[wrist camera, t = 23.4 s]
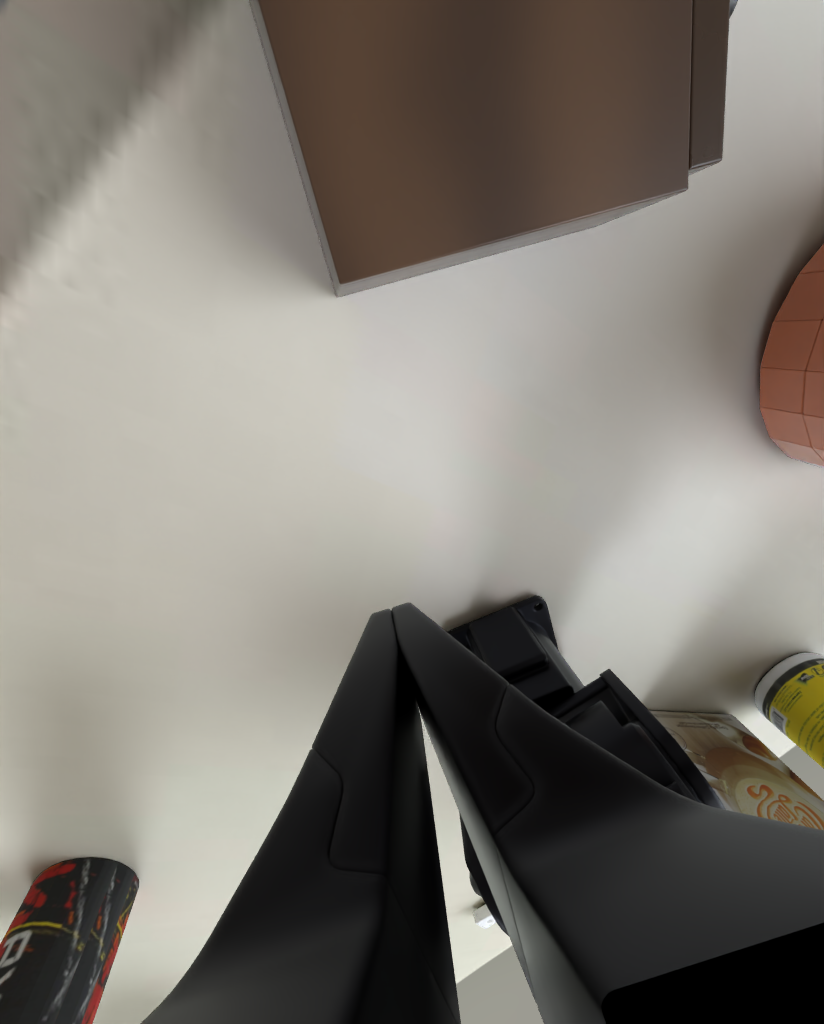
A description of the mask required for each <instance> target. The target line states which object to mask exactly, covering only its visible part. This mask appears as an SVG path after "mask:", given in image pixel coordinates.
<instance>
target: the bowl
mask: <svg viewBox="0 0 824 1024" xmlns="http://www.w3.org/2000/svg"><path fill="white" fill-rule="evenodd" d="M760 367H761V368H760V404H759V405H760V410H761V414H762V417H763V420H764V423H765V426H766V429H767V432H768V435H769V437H770V438H771V439H772V441H773V442H774V443H775V444H776V445H777V446H778V447H779V448H780V449H781V450H782V451H783V452H784V453H785V454H786V455H787V456H788V457H790V458H792V459H795V460H798V461H801V462H804V463H807V464H810V465H814V466H817V467H821V468H824V244H823V245H822V246H821V247H820V248H819V250H818V251H817V252H816V253H815V254H814V256H813V257H812V258H811V259H810V260H809V262H808V263H807V264H806V265H805V267H804V268H803V269H802V270H801V271H800V273H799V275H798V276H797V277H796V279H795V281H794V283H793V285H792V287H791V289H790V291H789V293H788V294H787V296H786V298H785V300H784V302H783V304H782V306H781V308H780V309H779V311H778V313H777V315H776V317H775V319H774V322H773V323H772V327H771V330H770V334H769V337H768V341H767V344H766V348H765V351H764V355H763V358H762V362H761V365H760Z"/></svg>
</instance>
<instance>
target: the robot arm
mask: <svg viewBox="0 0 824 1024" xmlns="http://www.w3.org/2000/svg"><path fill="white" fill-rule="evenodd" d="M538 603H539V604H538ZM536 604H538V605H537V606H535V605H536ZM600 676H601V677H599V678H598V679H596V680H594V681H593V682H591V683H590V684H588V685H586V686H585V687H584V685H583V684H582V683H581V681H580V680H579V678H578V677H577V676H576V674H575V673H574V672H573V670H572V669H571V668H570V666H569V665H568V663H567V662H566V661H565V659H564V658H563V657H562V655H561V654H560V652H559V651H558V647H557V643H556V639H555V635H554V631H553V627H552V623H551V620H550V616H549V612H548V608H547V604H546V602H545V601H544V599H543V598H542V597H540V596H533V597H531V598H528V599H526V600H524V601H521V602H519V603H516V604H514V605H511V606H509V607H507V608H504V609H502V610H499V611H497V612H494V613H492V614H490V615H487V616H485V617H482V618H480V619H477V620H475V621H473V622H470V623H468V624H465V625H463V626H460V627H458V628H456V629H453V630H451V631H448V632H446V631H445V630H444V629H442V628H441V627H440V626H439V625H437V624H436V623H435V622H434V621H432V620H431V619H430V618H429V617H427V616H426V615H425V614H424V613H423V612H421V611H420V610H419V609H418V608H416V607H415V606H414V605H413V604H411V603H405V604H402V605H399V606H396V607H393V608H392V611H391V610H390V609H386V610H383V611H379V612H376V613H373V614H372V615H371V616H370V618H369V621H368V623H367V625H366V627H365V630H364V632H363V634H362V636H361V638H360V641H359V643H358V645H357V647H356V650H355V652H354V654H353V656H352V658H351V661H350V663H349V665H348V667H347V670H346V672H345V674H344V676H343V678H342V681H341V683H340V685H339V687H338V690H337V692H336V694H335V696H334V698H333V701H332V703H331V705H330V707H329V710H328V712H327V714H326V716H325V718H324V721H323V723H322V725H321V727H320V730H319V732H318V734H317V736H316V739H315V741H314V743H313V745H312V749H311V750H310V751H309V754H308V756H307V758H306V760H305V762H304V765H303V767H302V769H301V771H300V773H299V775H298V777H297V780H296V782H295V784H294V786H293V788H292V790H291V792H290V794H289V796H288V798H287V800H286V802H285V804H284V806H283V808H282V810H281V811H280V813H279V815H278V817H277V819H276V821H275V822H274V824H273V826H272V828H271V830H270V832H269V833H268V835H267V837H266V839H265V841H264V842H263V844H262V846H261V848H260V849H259V851H258V853H257V855H256V856H255V858H254V860H253V862H252V863H251V865H250V867H249V869H248V870H247V872H246V874H245V876H244V877H243V879H242V881H241V883H240V885H239V886H238V888H237V890H236V892H235V893H234V895H233V897H232V899H231V900H230V902H229V904H228V906H227V907H226V909H225V911H224V913H223V914H222V916H221V918H220V920H219V921H218V923H217V925H216V927H215V928H214V930H213V932H212V934H211V935H210V937H209V939H208V940H207V942H206V944H205V945H204V947H203V948H202V950H201V952H200V953H199V955H198V956H197V958H196V959H195V961H194V962H193V964H192V965H191V967H190V968H189V970H188V971H187V972H186V974H185V975H184V976H183V978H182V979H181V980H180V981H179V983H178V984H177V985H176V987H175V988H174V989H173V991H172V992H171V993H170V994H169V995H168V996H167V997H166V998H165V1000H164V1001H163V1002H162V1003H161V1004H160V1005H159V1006H158V1007H157V1008H156V1009H155V1010H154V1011H153V1012H152V1013H151V1014H150V1015H149V1016H148V1017H147V1018H146V1019H145V1020H144V1021H143V1022H142V1023H141V1024H461V1021H460V1013H459V1005H458V998H457V990H456V982H455V975H454V967H453V959H452V952H451V944H450V937H449V929H448V921H447V914H446V906H445V898H444V891H443V883H442V876H441V868H440V860H439V853H438V845H437V838H436V830H435V822H434V815H433V807H432V799H431V792H430V784H429V777H428V769H427V761H426V754H425V746H424V739H423V731H422V724H421V718H420V713H421V716H422V719H423V721H424V724H425V727H426V729H427V732H428V734H429V737H430V739H431V742H432V744H433V747H434V749H435V752H436V754H437V757H438V759H439V762H440V764H441V767H442V769H443V772H444V774H445V777H446V779H447V782H448V784H449V787H450V789H451V792H452V794H453V797H454V799H455V802H456V804H457V807H458V809H459V812H460V821H461V829H462V837H463V845H464V854H465V861H466V864H467V867H468V869H469V871H470V882H471V885H472V887H473V889H474V891H475V893H476V894H478V895H479V896H481V897H482V898H483V900H484V902H485V904H486V906H487V908H488V909H489V911H490V913H491V914H492V916H493V918H494V919H495V921H496V922H497V924H498V925H499V926H500V928H501V929H502V930H503V931H504V932H505V933H506V934H507V935H508V936H509V937H510V939H511V942H512V944H513V947H514V949H515V952H516V954H517V957H518V959H519V961H520V964H521V967H522V969H523V972H524V974H525V977H526V979H527V982H528V984H529V987H530V989H531V992H532V994H533V997H534V999H535V1001H536V1003H537V1005H538V1008H539V1012H540V1014H541V1017H542V1019H543V1022H544V1024H824V830H820V829H815V828H810V827H806V826H801V825H796V824H791V823H786V822H782V821H777V820H772V819H767V818H762V817H758V816H753V815H748V814H743V813H738V812H734V811H729V810H726V808H725V807H724V805H723V803H722V802H721V800H720V799H719V797H718V796H717V794H716V793H715V791H714V790H713V788H712V787H711V785H710V784H709V783H708V781H707V780H706V779H705V777H704V776H703V775H702V773H701V772H700V771H699V769H698V768H697V767H696V765H695V764H694V763H693V761H692V760H691V759H690V758H689V756H688V755H687V754H686V753H685V751H684V750H683V749H682V748H681V746H680V745H679V744H678V743H677V741H676V740H675V739H674V738H673V737H672V736H671V734H670V733H669V732H668V731H667V730H666V728H665V727H664V726H663V725H662V724H661V723H660V722H659V721H658V720H657V719H656V718H655V716H654V715H653V714H652V713H651V712H650V711H649V710H648V709H647V708H646V707H645V706H644V705H643V704H642V703H641V702H640V701H639V700H638V698H637V697H636V696H635V695H634V694H633V693H632V692H631V691H630V690H629V689H628V688H627V687H626V686H625V685H624V684H623V683H622V682H621V680H620V679H619V678H618V677H617V676H616V675H615V674H614V673H613V672H612V671H611V670H610V669H608V670H606V671H605V672H603V673H601V674H600ZM418 707H419V708H418ZM419 710H420V713H419Z"/></svg>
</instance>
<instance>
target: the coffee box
mask: <svg viewBox="0 0 824 1024" xmlns="http://www.w3.org/2000/svg"><path fill="white" fill-rule="evenodd" d="M650 712H651V713H652V714H653V715H654V716H655V718H656V719H657V720H658V721H659V722H660V723H661V724H662V725H663V726H664V727H665V728H666V730H667V731H668V732H669V733H670V734H671V736H672V737H673V738H674V739H675V740H676V741H677V743H678V744H679V745H680V746H681V748H682V749H683V750H684V751H685V753H686V754H687V755H688V756H689V758H690V759H691V760H692V761H693V763H694V764H695V765H696V767H697V768H698V769H699V771H700V772H701V773H702V775H703V776H704V777H705V779H706V780H707V781H708V783H709V784H710V785H711V787H712V788H713V790H714V791H715V793H716V794H717V796H718V797H719V799H720V800H721V802H722V803H723V805H724V807H725V808H726V810H729V811H734V812H738V813H743V814H748V815H753V816H758V817H762V818H767V819H772V820H777V821H782V822H786V823H791V824H796V825H801V826H806V827H810V828H815V829H820V830H824V801H823V800H822V799H821V798H820V797H819V796H818V795H817V794H816V793H815V792H814V791H813V790H812V789H811V788H810V787H808V786H807V785H806V784H805V783H804V782H803V781H802V780H801V779H800V778H799V777H798V776H797V775H796V774H795V773H793V772H792V771H791V770H790V769H789V768H788V767H787V766H786V765H785V764H784V763H783V762H782V761H781V760H780V759H779V758H778V757H777V756H776V755H775V754H774V753H772V752H771V751H770V750H769V749H768V748H767V747H766V746H765V745H764V744H763V743H762V742H761V741H760V740H759V739H758V738H757V737H756V736H755V735H754V734H752V733H751V732H750V731H749V730H748V729H747V728H746V727H745V726H744V725H743V724H742V723H741V722H740V721H739V720H738V719H737V718H736V717H734V716H733V715H727V714H708V713H686V712H667V711H650Z"/></svg>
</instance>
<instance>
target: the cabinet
mask: <svg viewBox="0 0 824 1024" xmlns="http://www.w3.org/2000/svg"><path fill="white" fill-rule="evenodd" d="M249 3H250V6H251V9H252V13H253V16H254V20H255V23H256V26H257V30H258V33H259V37H260V40H261V43H262V47H263V50H264V54H265V57H266V60H267V64H268V67H269V71H270V74H271V77H272V81H273V84H274V88H275V91H276V94H277V98H278V101H279V105H280V108H281V111H282V115H283V118H284V122H285V125H286V128H287V132H288V135H289V139H290V142H291V145H292V149H293V152H294V156H295V159H296V162H297V166H298V169H299V173H300V176H301V179H302V183H303V186H304V190H305V193H306V196H307V200H308V203H309V207H310V210H311V213H312V217H313V220H314V223H315V227H316V230H317V234H318V237H319V240H320V244H321V247H322V251H323V254H324V257H325V261H326V264H327V268H328V271H329V274H330V278H331V281H332V285H333V288H334V291H335V295H336V297H341V296H345V295H349V294H352V293H356V292H360V291H363V290H367V289H371V288H374V287H378V286H381V285H385V284H389V283H392V282H396V281H400V280H403V279H407V278H411V277H414V276H418V275H421V274H425V273H429V272H432V271H436V270H440V269H443V268H447V267H451V266H454V265H458V264H461V263H465V262H469V261H472V260H476V259H480V258H483V257H487V256H491V255H494V254H498V253H501V252H505V251H509V250H512V249H516V248H520V247H523V246H527V245H531V244H534V243H538V242H541V241H545V240H549V239H552V238H556V237H560V236H563V235H567V234H571V233H574V232H578V231H581V230H585V229H589V228H592V227H596V226H598V225H601V224H603V223H606V222H608V221H611V220H613V219H616V218H619V217H621V216H624V215H626V214H629V213H631V212H634V211H636V210H639V209H641V208H644V207H646V206H649V205H651V204H654V203H656V202H659V201H661V200H664V199H667V198H669V197H671V196H674V195H677V194H679V193H682V192H684V191H686V190H687V189H688V171H689V128H690V85H691V42H692V0H249Z"/></svg>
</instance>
